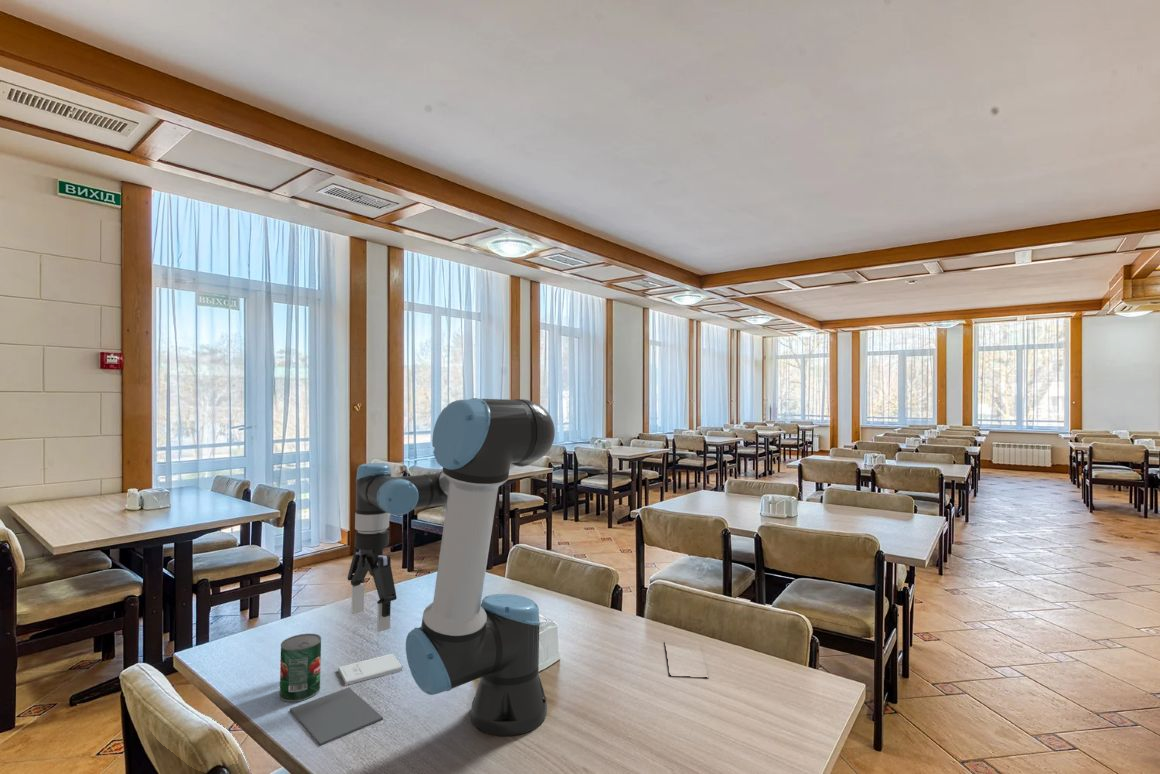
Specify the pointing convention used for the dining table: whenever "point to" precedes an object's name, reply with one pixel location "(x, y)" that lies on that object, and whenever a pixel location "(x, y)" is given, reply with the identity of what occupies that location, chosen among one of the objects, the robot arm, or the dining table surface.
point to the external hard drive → (369, 669)
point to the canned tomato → (300, 667)
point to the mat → (335, 715)
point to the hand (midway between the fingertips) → (370, 620)
